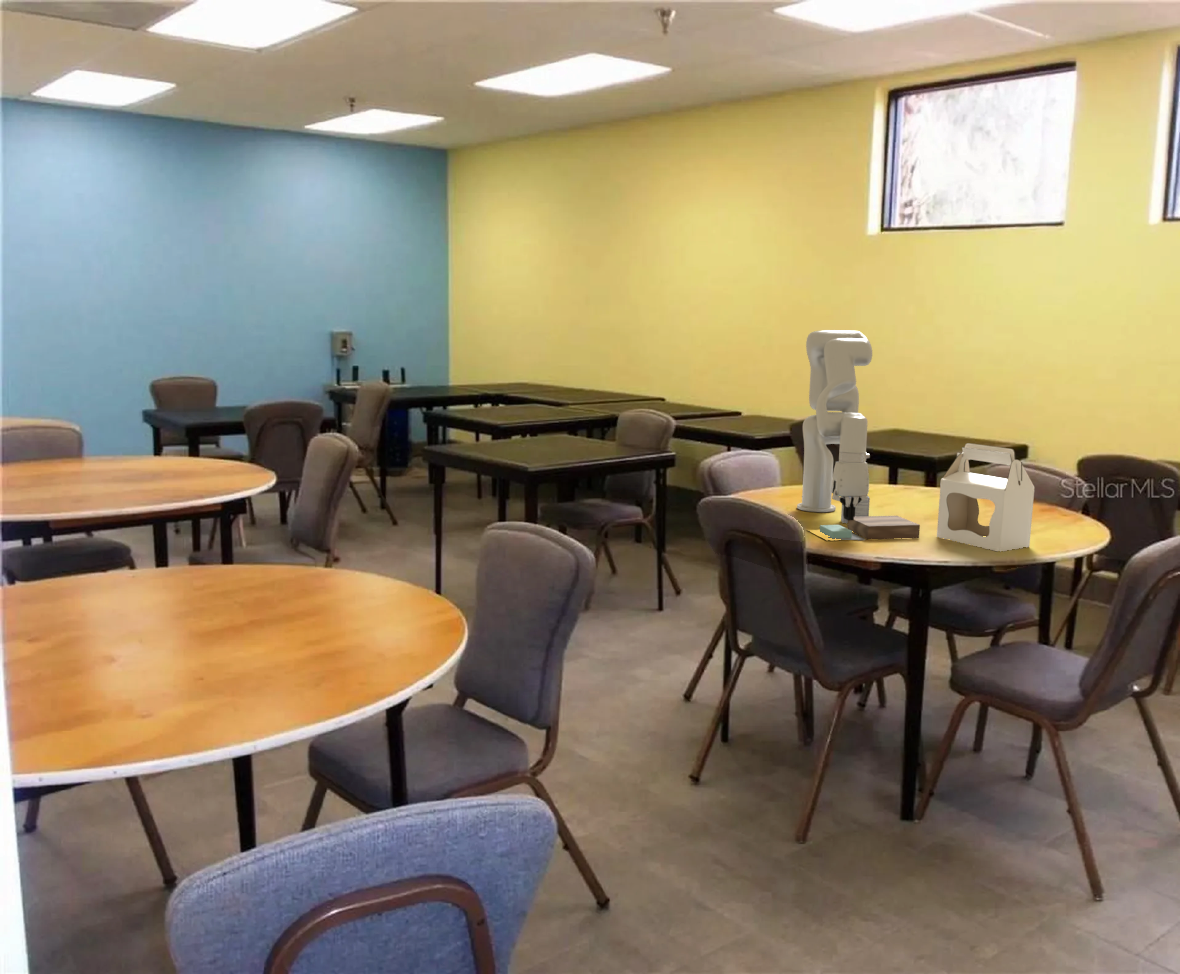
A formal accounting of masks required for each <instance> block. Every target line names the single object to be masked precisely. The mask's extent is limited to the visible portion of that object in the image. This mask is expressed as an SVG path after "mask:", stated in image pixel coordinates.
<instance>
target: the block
mask: <svg viewBox="0 0 1180 974" xmlns="http://www.w3.org/2000/svg"><path fill="white" fill-rule="evenodd" d="M819 529H820V532H822V533H824V534H825V535H828V536H830V537H831V538H852V533H853V532H852V531H851V530H849V529H847V527H845V526H842V525H840V524H823V525H822V524H820V525H819Z"/></svg>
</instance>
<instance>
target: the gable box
mask: <svg viewBox="0 0 1180 974" xmlns="http://www.w3.org/2000/svg"><path fill="white" fill-rule="evenodd" d="M961 449H962V452H957V453H956V457H955V459H954V460H953V462H952V463H951V465H950V466H949V467H948V468H947V470H946V472H945V473H944V475H943V476H942V477H941V479H940V485H939V487H940V489H939V501H938V515H937V528H936V530H937V531H936V537H937V538H938V537H939V539H942V538H944V539H943V540H946V539H950V540H952V542H955V541H957V542H956V543H959V542H960V544H963V543H965V544H964V545H968V544H970V545H969V546H972V545H973V547H976V546H977V548H980V547H982V549H986V550H989V549H990V551H994V552H998V551H1000V552H999V553H1001V551H1003V552H1008V551H1007V550H1009V551H1013V550H1012V549H1015V550H1018V549H1019V548H1020V549H1024V548H1023V547H1026V548H1029V547H1030V544H1031V534H1032V533H1031V532H1032V531H1031V530H1032V519H1033V509H1034V497H1035V489H1036V488H1035V485H1034V484H1033V481H1032V480H1031V478H1030V476H1029V474H1028V472H1027V471H1026V469H1025V466H1024V465H1023V461H1020V460H1019V459H1017V458H1016V451H1015V450H1014V449H1013V448H1007V447H1002V446H1001V447H999V446H993V445H986V444H977V443H970V442H969V443H965V445H964V446H962V447H961ZM971 460H973V461H979V462H986V463H993V464H1000V465H1005V466H1007V467H1008V466H1010V467H1009V470H1008V476H1007V477H1001V476H995V475H994V476H993V475H988V474H982V473H976V472H971V471H970V463H969V461H971ZM979 499H981V500H989V501H991V502H992V503H993V504H994V511H993V513H992V515H991V517H990V520H989V524H988V525H982V524H980V523H979V520H978V519H979V515H980V507H979V502H978V500H979ZM983 536H986V537H983ZM950 540H949V541H950ZM1020 549H1019V550H1020Z"/></svg>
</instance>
